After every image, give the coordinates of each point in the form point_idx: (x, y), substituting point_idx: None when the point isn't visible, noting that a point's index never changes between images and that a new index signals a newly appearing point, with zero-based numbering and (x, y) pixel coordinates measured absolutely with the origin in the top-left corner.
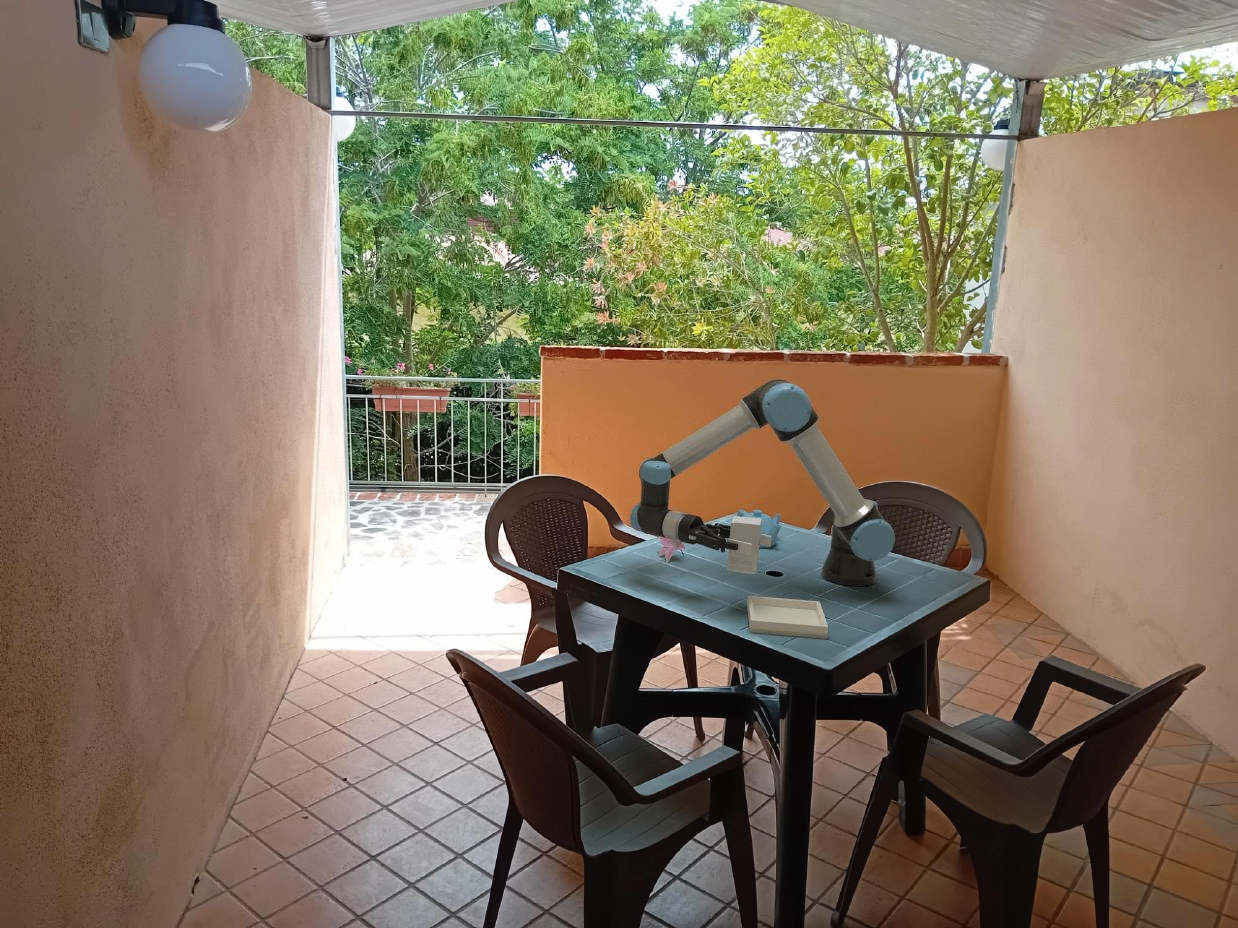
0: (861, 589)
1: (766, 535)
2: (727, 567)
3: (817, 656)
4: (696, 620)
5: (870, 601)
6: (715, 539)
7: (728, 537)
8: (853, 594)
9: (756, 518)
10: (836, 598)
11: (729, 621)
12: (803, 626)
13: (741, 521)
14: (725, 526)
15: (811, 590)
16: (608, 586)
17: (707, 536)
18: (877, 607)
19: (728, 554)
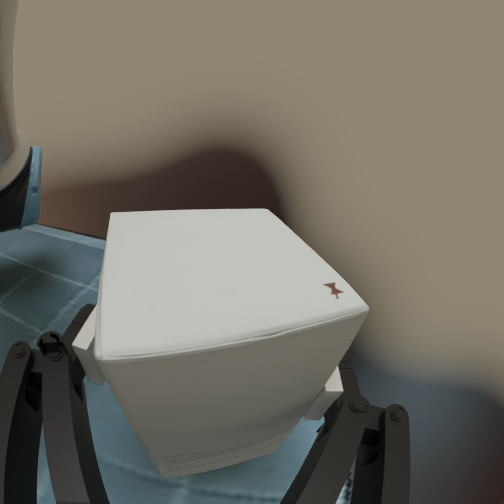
0: (7, 283)
1: None
2: (278, 446)
3: None
4: (345, 490)
5: (52, 275)
6: (398, 430)
7: (100, 477)
8: (26, 291)
9: (124, 224)
10: (47, 308)
11: (295, 444)
12: None
13: (290, 264)
14: (6, 485)
15: (15, 341)
16: None
17: (393, 495)
18: (74, 268)
19: (294, 426)
